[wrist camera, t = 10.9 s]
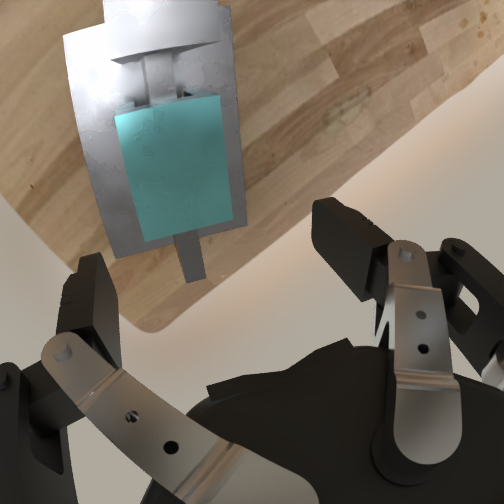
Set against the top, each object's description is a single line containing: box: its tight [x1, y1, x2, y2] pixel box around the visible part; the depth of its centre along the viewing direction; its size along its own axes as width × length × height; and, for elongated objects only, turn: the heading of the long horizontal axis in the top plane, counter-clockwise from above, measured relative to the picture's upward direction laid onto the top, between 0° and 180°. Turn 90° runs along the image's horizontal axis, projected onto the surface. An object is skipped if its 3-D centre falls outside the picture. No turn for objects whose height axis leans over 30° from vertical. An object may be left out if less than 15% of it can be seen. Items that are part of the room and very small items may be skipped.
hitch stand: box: [63, 0, 247, 283], centre depth 21 cm, size 14×22×14 cm, turn 4°
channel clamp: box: [114, 88, 233, 242], centre depth 20 cm, size 8×6×6 cm
